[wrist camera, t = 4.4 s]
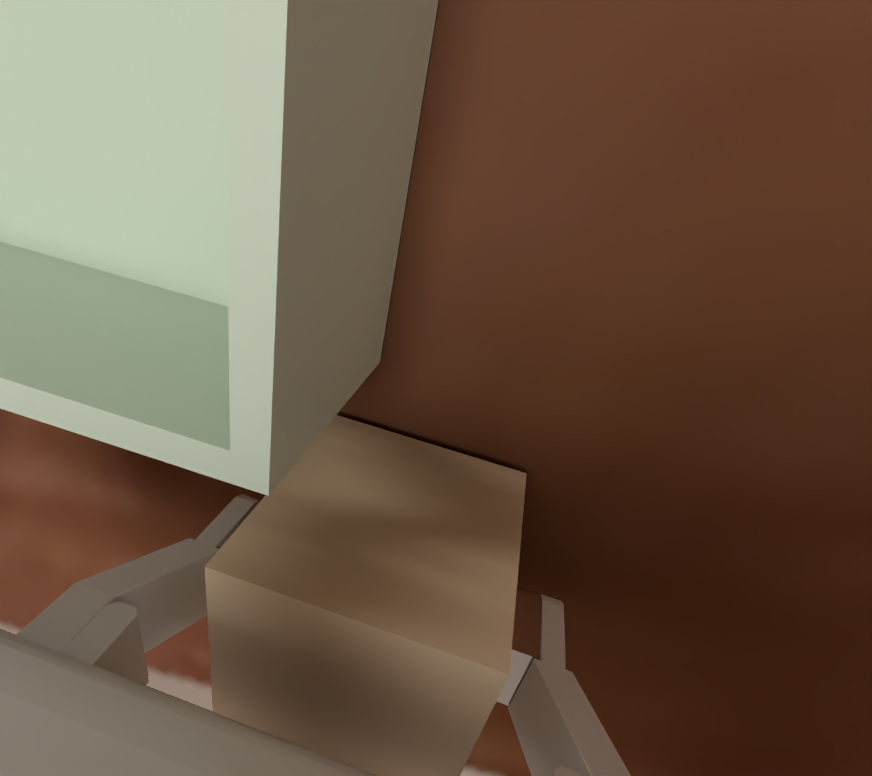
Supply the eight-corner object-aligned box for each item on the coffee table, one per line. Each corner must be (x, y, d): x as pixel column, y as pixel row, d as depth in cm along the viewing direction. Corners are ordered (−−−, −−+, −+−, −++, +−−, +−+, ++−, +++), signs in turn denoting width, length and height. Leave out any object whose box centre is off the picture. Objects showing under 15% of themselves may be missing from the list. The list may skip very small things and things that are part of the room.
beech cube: (526, 473, 11) (509, 674, 7) (476, 603, 14) (440, 814, 9) (334, 414, 12) (204, 567, 7) (319, 550, 14) (213, 725, 10)
